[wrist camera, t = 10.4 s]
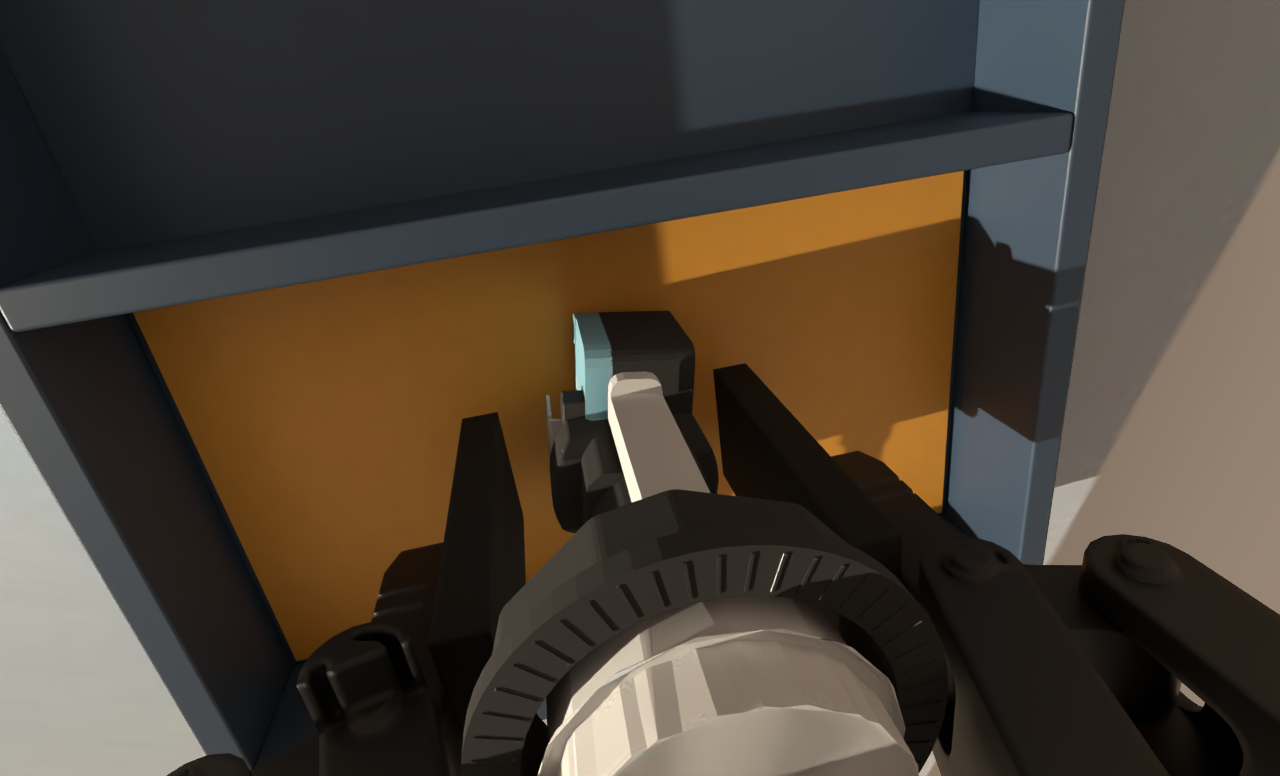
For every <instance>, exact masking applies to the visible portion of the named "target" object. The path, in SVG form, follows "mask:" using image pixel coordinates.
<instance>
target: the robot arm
mask: <svg viewBox="0 0 1280 776" xmlns="http://www.w3.org/2000/svg"><path fill="white" fill-rule="evenodd" d="M713 375H714V386H715V396H716V406H717V417H718V427H719V438H720V448H721V458H722V469H723V475H724V476H725V478H726V480H727V482H728V483H729V485H730V487H731V489H732V490H733V492H734V494H735V496H739V497H747V498H755V499H764V500H772V501H780V502H789V503H795V504H798V505H801V506H803V507H804V508H805V509H807V510H808V511H809V512H810V513H812V514H813V515H814V516H815V517H816V518H818V519H819V520H820V521H821V522H822V523H824V524H825V525H826V526H827V527H828V528H830V529H831V530H832V531H833V532H835V533H836V534H837V535H838V536H839V537H841V538H842V539H843V540H844V541H845V542H847V543H848V544H849V545H851V546H853V547H855V548H857V549H859V550H861V551H863V552H865V553H866V554H868V555H869V556H871V557H872V558H874V559H875V560H877V561H878V562H880V563H881V564H882V565H883V566H884V567H886V568H887V569H888V570H889V571H890V572H891V573H892V574H894V575H895V576H896V577H897V578H898V580H899V581H900V582H901V583H902V584H903V585H904V587H905V588H906V589H907V590H908V591H909V593H910V594H911V595H912V596H913V598H914V599H915V600H916V601H917V603H918V604H919V605H920V606H921V608H922V609H923V610H924V611H925V613H926V614H927V616H928V618H929V619H930V621H931V622H932V624H933V626H934V627H935V629H936V631H937V634H938V636H939V639H940V641H941V643H942V646H943V650H944V654H945V658H946V662H947V672H948V698H947V704H946V710H945V715H944V719H943V722H942V726H941V729H940V732H939V735H938V738H937V740H936V742H935V744H934V747H933V749H932V751H933V754H934V756H935V759H936V762H937V765H938V767H939V770H940V773H941V776H1280V615H1279V614H1278V613H1276V612H1275V611H1273V610H1271V609H1270V608H1268V607H1267V606H1266V605H1264V604H1262V603H1261V602H1260V601H1258V600H1256V599H1255V598H1253V597H1252V596H1250V595H1249V594H1247V593H1246V592H1244V591H1243V590H1241V589H1240V588H1238V587H1237V586H1235V585H1234V584H1232V583H1231V582H1229V581H1228V580H1226V579H1225V578H1223V577H1222V576H1220V575H1219V574H1217V573H1216V572H1214V571H1213V570H1211V569H1210V568H1208V567H1207V566H1205V565H1204V564H1202V563H1201V562H1199V561H1198V560H1196V559H1195V558H1193V557H1192V556H1190V555H1189V554H1187V553H1185V552H1183V551H1181V550H1179V549H1177V548H1175V547H1173V546H1171V545H1169V544H1167V543H1163V542H1160V541H1157V540H1153V539H1150V538H1147V537H1141V536H1132V535H1123V534H1122V535H1112V536H1103V537H1101V538H1099V539H1097V540H1094V541H1092V542H1090V544H1089V545H1088V547H1087V549H1086V550H1085V552H1084V558H1083V564H1082V565H1028V564H1022V562H1021V561H1020V560H1019V559H1018V558H1017V557H1016V556H1014V555H1013V554H1012V553H1011V552H1010V551H1009V550H1007V549H1005V548H1003V547H1001V546H999V545H997V544H995V543H993V542H990V541H987V540H983V539H979V538H975V537H962V536H960V535H959V534H958V533H957V532H956V531H955V530H954V529H953V528H952V527H951V526H950V525H949V524H947V523H946V522H945V521H944V520H943V519H942V518H941V517H940V516H939V515H938V514H937V513H936V512H935V511H934V510H933V509H932V508H931V507H930V506H929V505H928V504H927V503H926V502H925V501H923V500H922V499H921V498H920V497H919V496H918V495H917V494H916V493H914V494H913V491H912V489H911V488H910V487H909V486H908V485H907V484H906V483H905V482H904V481H903V480H900V479H899V477H898V476H897V475H896V474H895V473H894V472H893V471H892V470H891V469H890V468H889V467H888V466H887V465H886V464H885V463H884V462H883V461H880V460H878V459H876V458H874V457H872V456H869V455H867V454H865V453H863V452H861V451H854V452H849V453H845V454H840V455H835V456H830V455H829V454H828V453H827V452H826V451H825V449H824V448H823V447H822V446H821V445H820V444H819V443H818V442H817V441H816V440H815V439H814V437H813V436H812V435H811V434H810V433H809V432H808V431H807V430H806V429H805V428H804V426H803V425H802V424H801V423H800V422H799V421H798V420H797V419H796V418H795V417H794V415H793V414H792V413H791V412H790V411H789V410H788V409H787V408H786V407H785V406H784V405H783V403H782V402H781V401H780V400H779V399H778V398H777V397H776V396H775V395H774V394H773V392H772V391H771V390H770V389H769V388H768V387H767V386H766V385H765V384H764V383H763V382H762V380H761V379H760V378H759V377H758V376H757V375H756V374H755V373H754V372H753V371H752V369H751V368H750V367H749V366H748V365H747V364H746V363H743V364H738V365H733V366H728V367H723V368H718V369H713ZM525 584H526V571H525V542H524V516H523V512H522V508H521V504H520V500H519V496H518V492H517V488H516V484H515V480H514V476H513V472H512V468H511V464H510V460H509V456H508V452H507V448H506V444H505V439H504V435H503V431H502V427H501V423H500V419H499V415H498V412H494V413H489V414H484V415H479V416H474V417H469V418H464V419H462V423H461V430H460V436H459V443H458V450H457V456H456V463H455V469H454V476H453V482H452V489H451V496H450V502H449V509H448V515H447V522H446V529H445V535H444V542H442V543H437V544H433V545H428V546H423V547H419V548H414V549H410V550H405V551H401V552H400V554H399V555H398V556H397V558H396V559H395V560H394V561H393V563H392V564H391V565H390V566H389V568H388V569H387V570H386V571H385V573H384V576H383V579H382V583H381V587H380V591H379V594H378V595H379V599H377V602H376V606H375V609H374V618H372V620H371V622H369V623H365V624H361V625H357V626H353V627H351V628H349V629H347V630H345V631H343V632H341V633H339V634H337V635H335V636H333V637H331V638H330V639H329V640H328V641H326V642H325V643H324V644H323V645H321V646H320V647H319V648H318V649H316V650H315V651H314V652H313V653H312V655H311V656H310V657H309V659H308V660H307V661H306V662H305V664H304V665H303V666H302V668H301V670H300V674H299V677H298V680H297V683H296V686H297V688H298V690H299V692H300V694H301V696H302V698H303V700H304V702H305V705H306V707H307V709H308V711H309V713H310V715H311V717H312V719H313V721H314V723H315V726H316V728H317V730H318V732H319V733H318V734H316V735H315V736H314V737H312V738H311V739H309V740H308V741H306V742H304V743H303V744H301V745H299V746H297V747H296V748H294V749H292V750H290V751H288V752H286V753H284V754H282V755H280V756H278V757H276V758H274V759H272V760H270V761H268V762H266V763H264V764H262V765H260V766H258V767H256V768H254V769H252V770H249V768H248V766H247V765H246V763H245V761H244V759H242V758H240V757H237V756H235V755H233V754H230V753H224V754H212V755H207V756H204V757H202V758H199V759H196V760H194V761H191V762H189V763H186V764H184V765H183V766H181V767H179V768H178V769H176V770H175V771H173V772H172V773H170V774H168V775H167V776H461V757H462V746H463V734H464V727H465V720H466V714H467V709H468V706H469V703H470V700H471V696H472V693H473V690H474V688H475V686H476V683H477V681H478V679H479V677H480V675H481V673H482V670H483V669H484V667H485V665H486V664H487V662H488V660H489V659H490V657H491V656H492V651H493V646H494V641H495V635H496V630H497V625H498V620H499V615H500V613H501V611H502V609H503V607H504V606H505V605H506V604H507V603H508V602H509V601H510V600H511V599H512V597H513V596H514V595H515V594H516V593H517V592H518V591H519V590H520V589H521V588H522V587H523V586H524V585H525ZM824 609H825V610H826V612H827V613H828V615H829V617H830V618H831V620H832V622H833V623H834V625H835V627H836V628H837V630H838V627H839V613H837V612H835V611H833V610H830V609H828V608H825V607H824ZM1181 683H1183V684H1185V685H1186V686H1187V687H1188V688H1189V689H1190V690H1191V691H1193V692H1194V693H1195V694H1196V695H1197V696H1198V697H1200V698H1201V699H1202V700H1203V701H1204V702H1205V704H1204V706H1203V707H1201V706H1198V705H1197V704H1195V703H1194V702H1193V701H1191V700H1190V699H1188V698H1187V697H1186V696H1185V695H1184V694H1183V693H1182V692H1180V687H1181Z"/></svg>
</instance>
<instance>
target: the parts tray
mask: <svg viewBox="0 0 1280 776" xmlns="http://www.w3.org/2000/svg"><path fill="white" fill-rule="evenodd" d="M1124 4H1125V0H0V407H1V408H2V410H3V412H4V414H5V415H6V417H7V419H8V420H9V422H10V424H11V425H12V427H13V429H14V430H15V432H16V434H17V436H18V437H19V439H20V441H21V442H22V444H23V446H24V447H25V449H26V451H27V452H28V454H29V456H30V458H31V459H32V461H33V463H34V464H35V466H36V468H37V469H38V471H39V473H40V474H41V476H42V478H43V480H44V481H45V483H46V485H47V486H48V488H49V490H50V491H51V493H52V495H53V496H54V498H55V500H56V502H57V503H58V505H59V507H60V508H61V510H62V512H63V513H64V515H65V517H66V518H67V520H68V522H69V524H70V525H71V527H72V529H73V530H74V532H75V534H76V535H77V537H78V539H79V540H80V542H81V544H82V546H83V547H84V549H85V551H86V552H87V554H88V556H89V557H90V559H91V561H92V562H93V564H94V566H95V568H96V569H97V571H98V573H99V574H100V576H101V578H102V579H103V581H104V583H105V584H106V586H107V588H108V590H109V591H110V593H111V595H112V596H113V598H114V600H115V601H116V603H117V605H118V606H119V608H120V610H121V612H122V613H123V615H124V617H125V618H126V620H127V622H128V623H129V625H130V627H131V628H132V630H133V632H134V634H135V635H136V637H137V639H138V640H139V642H140V644H141V645H142V647H143V649H144V650H145V652H146V654H147V656H148V657H149V659H150V661H151V662H152V664H153V666H154V667H155V669H156V671H157V672H158V674H159V676H160V677H161V679H162V681H163V683H164V684H165V686H166V688H167V689H168V691H169V693H170V694H171V696H172V698H173V699H174V701H175V703H176V705H177V706H178V708H179V710H180V711H181V713H182V715H183V716H184V718H185V720H186V721H187V723H188V725H189V727H190V728H191V730H192V732H193V733H194V735H195V737H196V738H197V740H198V742H199V743H200V745H201V747H202V749H203V750H204V752H205V754H206V755H212V754H224V753H230V754H233V755H235V756H237V757H240V758H242V759H244V761H245V763H246V765H247V766H248V768H249V770H252V769H254V768H256V767H258V766H260V765H262V764H264V763H266V762H268V761H270V760H272V759H274V758H276V757H278V756H280V755H282V754H284V753H286V752H288V751H290V750H292V749H294V748H296V747H297V746H299V745H301V744H303V743H304V742H306V741H308V740H309V739H311V738H312V737H314V736H315V735H316V734H318V733H319V732H318V730H317V728H316V726H315V723H314V721H313V719H312V717H311V715H310V713H309V711H308V709H307V707H306V705H305V702H304V700H303V698H302V696H301V694H300V692H299V690H298V688H297V686H296V683H297V680H298V677H299V674H300V670H301V668H302V666H303V665H304V664H305V662H306V661H307V660H308V659H309V657H310V656H311V655H312V653H313V652H314V651H315V650H316V649H318V648H319V647H320V646H321V645H323V644H324V643H325V642H326V641H328V640H329V639H330V638H331V637H333V636H335V635H337V634H339V633H341V632H343V631H345V630H347V629H349V628H351V627H353V626H357V625H361V624H365V623H369V622H371V620H372V618H374V609H375V606H376V602H377V599H379V595H378V594H379V591H380V587H381V583H382V579H383V576H384V573H385V571H386V570H387V569H388V568H389V566H390V565H391V564H392V563H393V561H394V560H395V559H396V558H397V556H398V555H399V554H400V552H401V551H405V550H410V549H414V548H419V547H423V546H428V545H433V544H437V543H442V542H444V535H445V529H446V522H447V515H448V509H449V502H450V496H451V489H452V482H453V476H454V469H455V463H456V456H457V450H458V443H459V436H460V430H461V423H462V419H464V418H469V417H474V416H479V415H484V414H489V413H494V412H498V415H499V419H500V423H501V427H502V431H503V435H504V439H505V444H506V448H507V452H508V456H509V460H510V464H511V468H512V472H513V476H514V480H515V484H516V488H517V492H518V496H519V500H520V504H521V508H522V512H523V516H524V542H525V571H526V583H527V582H528V581H529V580H530V579H531V578H532V577H533V576H534V575H535V574H536V573H537V572H538V571H539V570H540V569H541V568H542V567H543V566H544V565H545V564H546V563H547V562H548V561H549V560H550V559H551V558H552V557H553V556H554V555H555V554H556V553H557V552H558V551H559V550H560V549H561V547H562V546H563V545H564V544H565V543H566V542H567V541H568V540H569V539H570V538H571V537H572V536H573V535H574V534H575V533H570V532H567V531H565V530H563V529H562V528H561V526H560V524H559V522H558V520H557V518H556V514H555V511H554V508H553V502H552V492H551V480H550V468H549V467H550V462H549V452H548V440H547V417H546V395H549V396H550V406H551V417H552V419H561V404H560V394H561V391H575V361H574V342H573V331H572V316H573V313H598V312H627V311H670V312H671V314H672V315H673V316H674V318H675V319H676V320H677V322H678V323H679V325H680V326H681V327H682V329H683V330H684V332H685V333H686V334H687V336H688V337H689V338H690V340H691V341H692V343H693V345H694V349H695V378H694V394H693V411H692V415H693V416H694V418H695V419H696V421H697V423H698V424H699V426H700V428H701V430H702V432H703V433H704V435H705V437H706V439H707V440H708V442H709V444H710V446H711V448H712V450H713V452H714V455H715V458H716V461H717V466H718V475H719V483H718V491H717V494H722V495H731V496H735V494H734V492H733V490H732V489H731V487H730V485H729V483H728V482H727V480H726V478H725V476H724V475H723V469H722V458H721V448H720V438H719V427H718V417H717V406H716V396H715V386H714V375H713V369H718V368H723V367H728V366H733V365H738V364H743V363H746V364H747V365H748V366H749V367H750V368H751V369H752V371H753V372H754V373H755V374H756V375H757V376H758V377H759V378H760V379H761V380H762V382H763V383H764V384H765V385H766V386H767V387H768V388H769V389H770V390H771V391H772V392H773V394H774V395H775V396H776V397H777V398H778V399H779V400H780V401H781V402H782V403H783V405H784V406H785V407H786V408H787V409H788V410H789V411H790V412H791V413H792V414H793V415H794V417H795V418H796V419H797V420H798V421H799V422H800V423H801V424H802V425H803V426H804V428H805V429H806V430H807V431H808V432H809V433H810V434H811V435H812V436H813V437H814V439H815V440H816V441H817V442H818V443H819V444H820V445H821V446H822V447H823V448H824V449H825V451H826V452H827V453H828V454H829V455H830V456H835V455H840V454H845V453H849V452H854V451H861V452H863V453H865V454H867V455H869V456H872V457H874V458H876V459H878V460H880V461H883V462H884V463H885V464H886V465H887V466H888V467H889V468H890V469H891V470H892V471H893V472H894V473H895V474H896V475H897V476H898V477H899V479H900V480H903V481H904V482H905V483H906V484H907V485H908V486H909V487H910V488H911V489H912V491H913V494H914V493H916V494H917V495H918V496H919V497H920V498H921V499H922V500H923V501H925V502H926V503H927V504H928V505H929V506H930V507H931V508H932V509H933V510H934V511H935V512H936V513H937V514H938V515H939V516H940V517H941V518H942V519H943V520H944V521H945V522H946V523H947V524H949V525H950V526H951V527H952V528H953V529H954V530H955V531H956V532H957V533H958V534H959V535H960V536H962V537H975V538H979V539H983V540H987V541H990V542H993V543H995V544H997V545H999V546H1001V547H1003V548H1005V549H1007V550H1009V551H1010V552H1011V553H1012V554H1013V555H1014V556H1016V557H1017V558H1018V559H1019V560H1020V561H1021V562H1022V564H1028V565H1043V560H1044V553H1045V547H1046V540H1047V533H1048V526H1049V519H1050V512H1051V505H1052V498H1053V492H1054V485H1055V478H1056V471H1057V464H1058V457H1059V450H1060V443H1061V437H1062V430H1063V423H1064V416H1065V409H1066V402H1067V395H1068V388H1069V382H1070V375H1071V368H1072V361H1073V354H1074V347H1075V340H1076V333H1077V327H1078V320H1079V313H1080V306H1081V299H1082V292H1083V285H1084V278H1085V272H1086V265H1087V258H1088V251H1089V244H1090V237H1091V230H1092V223H1093V217H1094V210H1095V203H1096V196H1097V189H1098V182H1099V175H1100V168H1101V162H1102V155H1103V148H1104V141H1105V134H1106V127H1107V120H1108V113H1109V107H1110V100H1111V93H1112V86H1113V79H1114V72H1115V65H1116V59H1117V52H1118V45H1119V38H1120V31H1121V24H1122V17H1123V10H1124ZM537 715H538V716H539V717H540V718H541V720H544V719H547V706H546V698H545V700H544V701H543V703H542V704H541V706H540V708H539V709H538V711H537Z"/></svg>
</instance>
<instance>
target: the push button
mask: <svg viewBox="0 0 1280 776" xmlns="http://www.w3.org/2000/svg"><path fill="white" fill-rule="evenodd" d="M572 331H573V342H574V361H575V391H561V394H560V404H561V419H552V417H551V406H550V396H549V395H546V417H547V440H548V452H549V462H550V467H549V468H550V480H551V492H552V502H553V508H554V511H555V514H556V518H557V520H558V522H559V524H560V526H561V528H562V529H563V530H565V531H567V532H570V533H575V534H574V535H573V536H572V537H571V538H570V539H569V540H568V541H567V542H566V543H565V544H564V545H563V546H562V547H561V549H560V550H559V551H558V552H557V553H556V554H555V555H554V556H553V557H552V558H551V559H550V560H549V561H548V562H547V563H546V564H545V565H544V566H543V567H542V568H541V569H540V570H539V571H538V572H537V573H536V574H535V575H534V576H533V577H532V578H531V579H530V580H529V581H528V582H527V583H526V584H525V585H524V586H523V587H522V588H521V589H520V590H519V591H518V592H517V593H516V594H515V595H514V596H513V597H512V599H511V600H510V601H509V602H508V603H507V604H506V605H505V606H504V607H503V609H502V611H501V613H500V615H499V620H498V625H497V630H496V635H495V641H494V646H493V651H492V656H491V657H490V659H489V660H488V662H487V664H486V665H485V667H484V669H483V670H482V673H481V675H480V677H479V679H478V681H477V683H476V686H475V688H474V690H473V693H472V696H471V700H470V703H469V706H468V709H467V714H466V720H465V727H464V734H463V746H462V757H461V776H919V775H918V774H919V772H920V771H921V769H922V767H923V766H924V764H925V762H926V760H927V759H928V757H929V755H930V753H931V751H932V749H933V747H934V744H935V742H936V740H937V738H938V735H939V732H940V729H941V726H942V722H943V719H944V715H945V710H946V704H947V698H948V672H947V662H946V658H945V654H944V650H943V646H942V643H941V641H940V639H939V636H938V634H937V631H936V629H935V627H934V626H933V624H932V622H931V621H930V619H929V618H928V616H927V614H926V613H925V611H924V610H923V609H922V608H921V606H920V605H919V604H918V603H917V601H916V600H915V599H914V598H913V596H912V595H911V594H910V593H909V591H908V590H907V589H906V588H905V587H904V585H903V584H902V583H901V582H900V581H899V580H898V578H897V577H896V576H895V575H894V574H892V573H891V572H890V571H889V570H888V569H887V568H886V567H884V566H883V565H882V564H881V563H880V562H878V561H877V560H875V559H874V558H872V557H871V556H869V555H868V554H866V553H865V552H863V551H861V550H859V549H857V548H855V547H853V546H851V545H849V544H848V543H847V542H845V541H844V540H843V539H842V538H841V537H839V536H838V535H837V534H836V533H835V532H833V531H832V530H831V529H830V528H828V527H827V526H826V525H825V524H824V523H822V522H821V521H820V520H819V519H818V518H816V517H815V516H814V515H813V514H812V513H810V512H809V511H808V510H807V509H805V508H804V507H803V506H801V505H798V504H795V503H789V502H780V501H772V500H764V499H755V498H747V497H739V496H731V495H722V494H717V491H718V483H719V475H718V466H717V461H716V458H715V455H714V452H713V450H712V448H711V446H710V444H709V442H708V440H707V439H706V437H705V435H704V433H703V432H702V430H701V428H700V426H699V424H698V423H697V421H696V419H695V418H694V416H693V415H692V411H693V394H694V378H695V349H694V345H693V343H692V341H691V340H690V338H689V337H688V336H687V334H686V333H685V332H684V330H683V329H682V327H681V326H680V325H679V323H678V322H677V320H676V319H675V318H674V316H673V315H672V314H671V312H670V311H627V312H598V313H573V316H572ZM824 607H825V608H828V609H830V610H833V611H835V612H837V613H839V627H838V630H837V628H836V627H835V625H834V623H833V622H832V620H831V618H830V617H829V615H828V613H827V612H826V610H825V609H824ZM545 698H546V706H547V725H546V724H545V723H544V722H543V721H542V720H541V718H540V717H539V716H538V715H537V711H538V709H539V708H540V706H541V704H542V703H543V701H544V700H545Z"/></svg>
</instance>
